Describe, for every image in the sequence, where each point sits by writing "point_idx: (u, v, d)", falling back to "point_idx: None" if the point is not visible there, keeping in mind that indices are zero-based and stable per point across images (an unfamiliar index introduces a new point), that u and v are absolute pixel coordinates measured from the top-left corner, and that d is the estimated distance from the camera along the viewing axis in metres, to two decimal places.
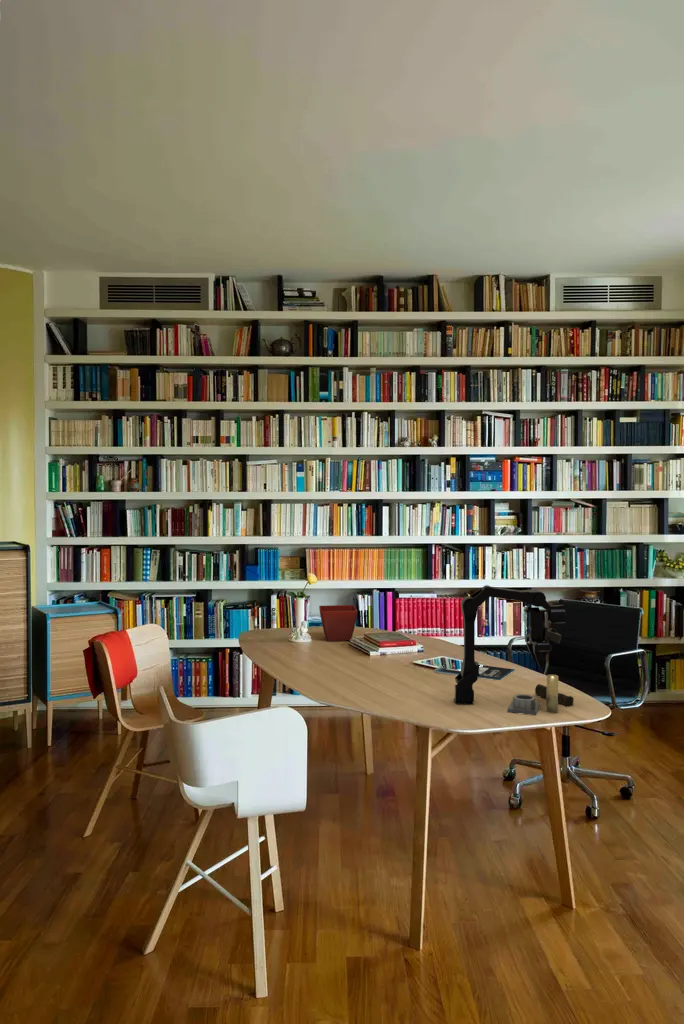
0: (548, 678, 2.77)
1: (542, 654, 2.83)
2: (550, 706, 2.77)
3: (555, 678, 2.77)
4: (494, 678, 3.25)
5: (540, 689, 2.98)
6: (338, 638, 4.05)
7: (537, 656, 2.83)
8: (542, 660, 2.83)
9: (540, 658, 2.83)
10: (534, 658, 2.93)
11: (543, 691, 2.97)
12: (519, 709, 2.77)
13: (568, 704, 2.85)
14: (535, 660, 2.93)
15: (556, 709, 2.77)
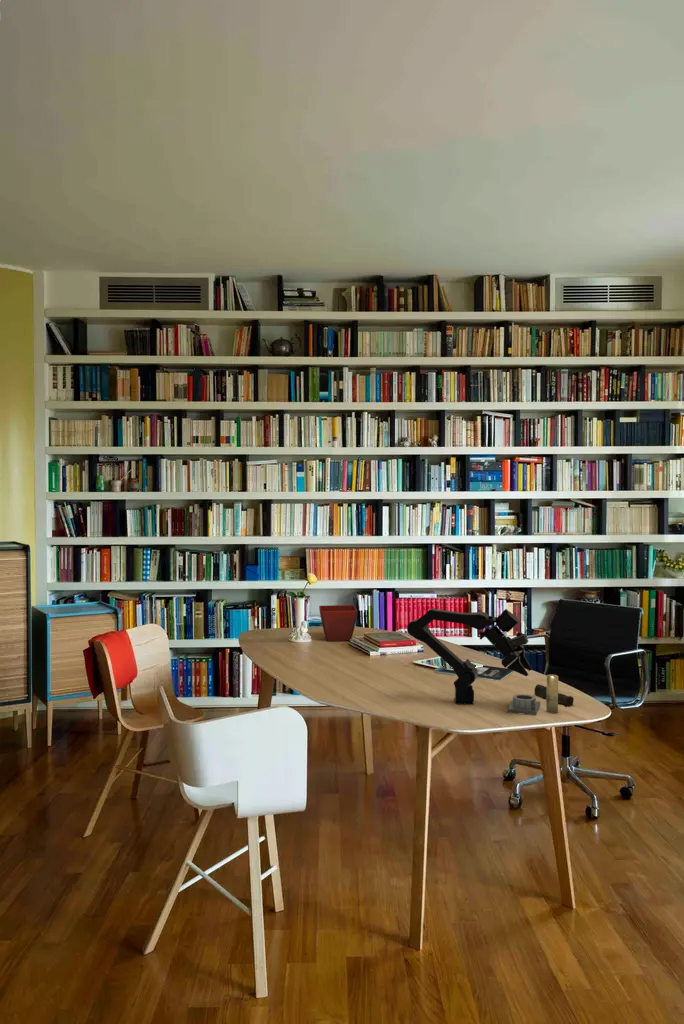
0: (548, 678, 2.77)
1: (517, 664, 2.77)
2: (550, 706, 2.77)
3: (555, 678, 2.77)
4: (494, 678, 3.25)
5: (540, 689, 2.98)
6: (338, 638, 4.05)
7: (514, 669, 2.77)
8: (521, 669, 2.77)
9: (518, 669, 2.77)
10: (526, 667, 2.86)
11: (543, 691, 2.96)
12: (519, 709, 2.77)
13: (568, 704, 2.85)
14: (528, 668, 2.86)
15: (556, 709, 2.77)
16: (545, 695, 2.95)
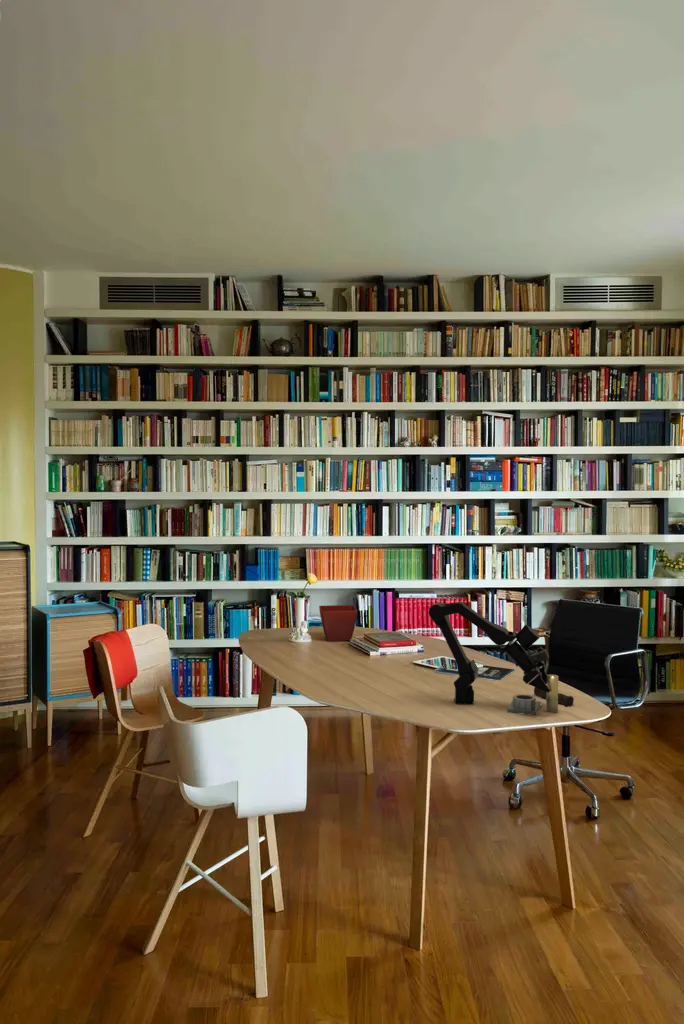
0: (548, 678, 2.77)
1: (538, 680, 2.75)
2: (550, 706, 2.77)
3: (555, 678, 2.77)
4: (494, 678, 3.25)
5: (539, 689, 2.98)
6: (338, 638, 4.05)
7: (535, 685, 2.75)
8: (543, 685, 2.74)
9: (540, 685, 2.74)
10: None
11: (542, 691, 2.96)
12: (519, 709, 2.77)
13: (568, 704, 2.85)
14: None
15: (556, 709, 2.77)
16: (545, 695, 2.95)
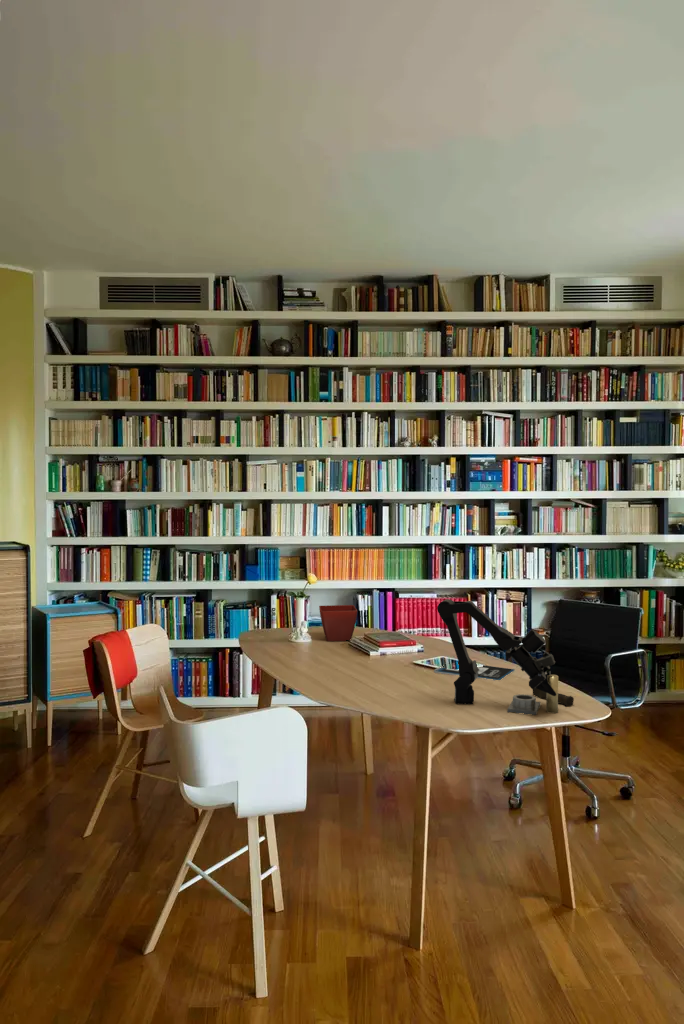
0: (548, 678, 2.77)
1: (545, 684, 2.76)
2: (550, 706, 2.77)
3: (555, 678, 2.77)
4: (494, 678, 3.25)
5: (538, 690, 2.98)
6: (338, 638, 4.05)
7: (542, 689, 2.76)
8: (549, 689, 2.76)
9: (546, 688, 2.76)
10: None
11: (542, 692, 2.96)
12: (519, 709, 2.77)
13: (569, 704, 2.85)
14: None
15: (556, 709, 2.77)
16: (544, 695, 2.95)
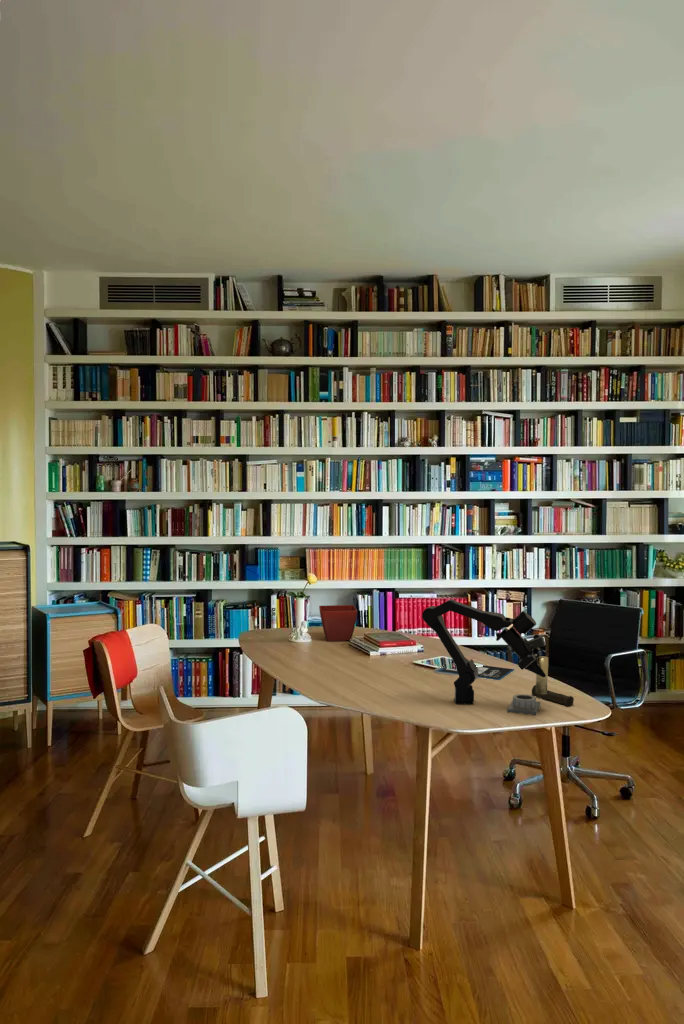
0: (538, 659, 2.79)
1: (535, 665, 2.77)
2: (539, 687, 2.78)
3: (545, 659, 2.78)
4: (494, 678, 3.25)
5: None
6: (338, 638, 4.05)
7: (532, 670, 2.77)
8: (539, 670, 2.77)
9: (536, 669, 2.77)
10: None
11: None
12: (519, 709, 2.77)
13: (569, 704, 2.85)
14: None
15: (545, 690, 2.78)
16: (544, 696, 2.95)
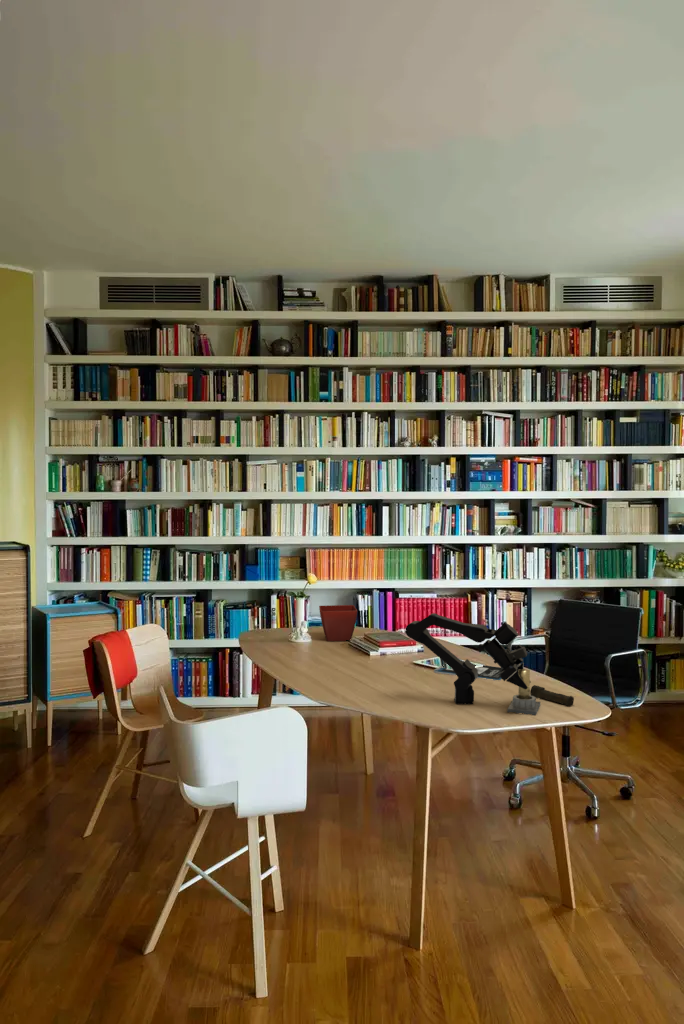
0: (520, 672, 2.81)
1: (516, 677, 2.78)
2: None
3: (526, 672, 2.80)
4: (494, 678, 3.25)
5: (537, 690, 2.97)
6: (338, 638, 4.05)
7: (513, 682, 2.78)
8: (520, 682, 2.77)
9: (517, 682, 2.78)
10: None
11: (540, 692, 2.95)
12: (519, 709, 2.77)
13: (569, 704, 2.85)
14: None
15: None
16: (543, 696, 2.94)
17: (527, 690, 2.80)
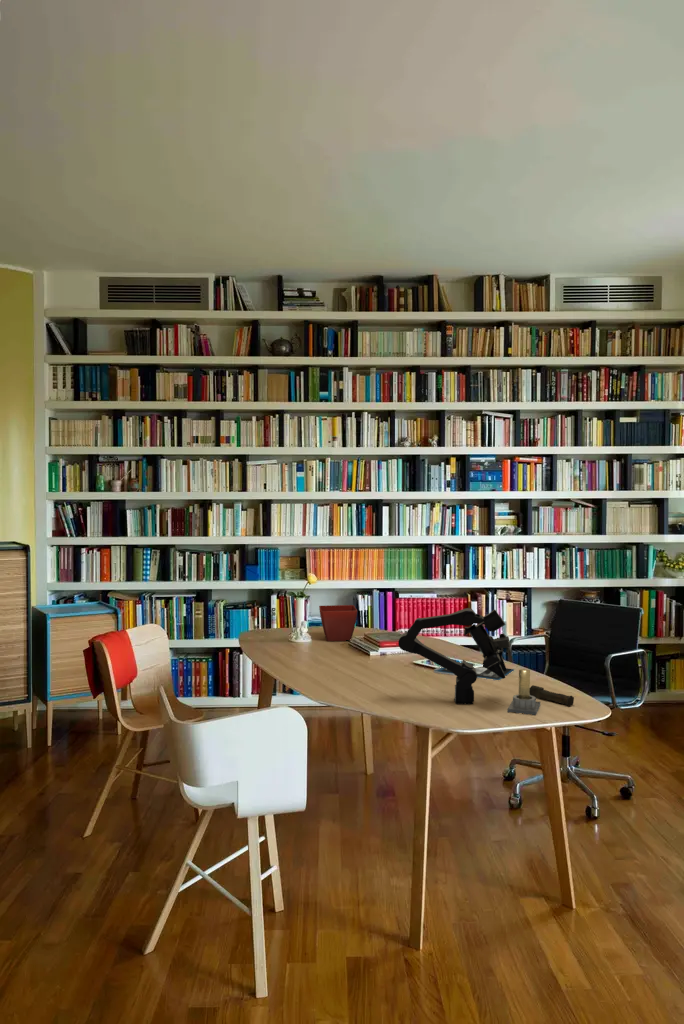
0: (520, 672, 2.81)
1: (497, 666, 2.82)
2: None
3: (527, 672, 2.80)
4: (494, 678, 3.25)
5: (536, 690, 2.96)
6: (338, 638, 4.05)
7: (493, 670, 2.82)
8: (500, 671, 2.82)
9: (497, 670, 2.82)
10: (502, 668, 2.92)
11: (540, 692, 2.95)
12: (519, 709, 2.77)
13: (570, 704, 2.86)
14: (504, 669, 2.92)
15: None
16: (542, 696, 2.94)
17: (527, 690, 2.80)
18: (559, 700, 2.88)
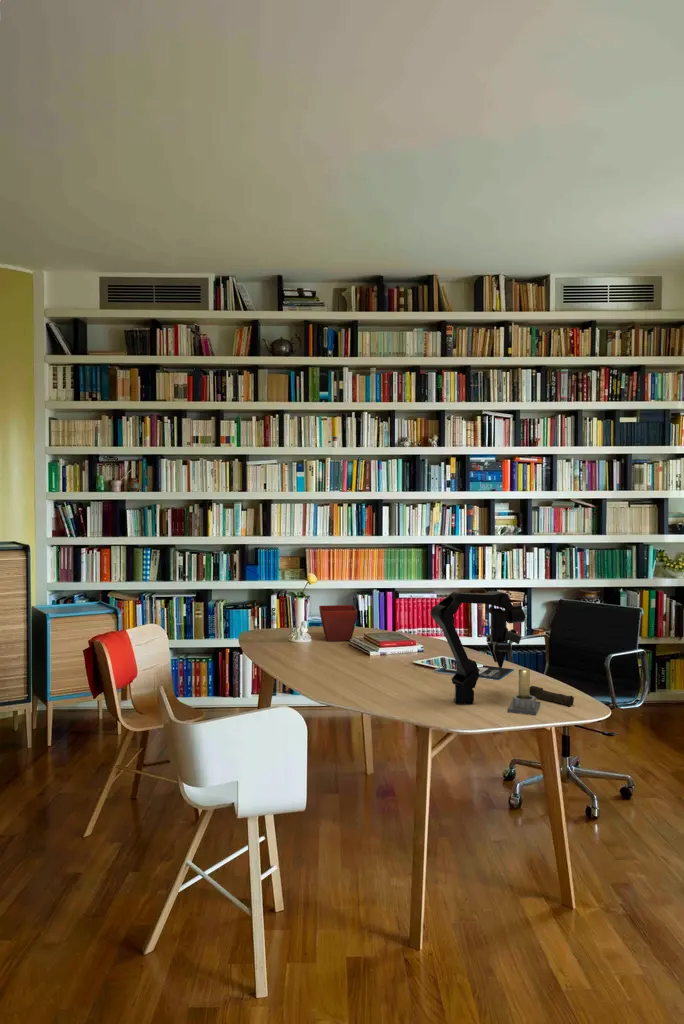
0: (520, 672, 2.81)
1: (502, 654, 2.90)
2: None
3: (527, 672, 2.80)
4: (494, 678, 3.25)
5: (535, 690, 2.96)
6: (338, 638, 4.05)
7: (497, 656, 2.89)
8: (501, 660, 2.90)
9: (499, 658, 2.90)
10: (494, 658, 3.00)
11: (539, 692, 2.95)
12: (519, 709, 2.77)
13: (570, 704, 2.86)
14: (495, 660, 3.00)
15: None
16: (542, 696, 2.94)
17: (527, 690, 2.80)
18: (559, 700, 2.88)
